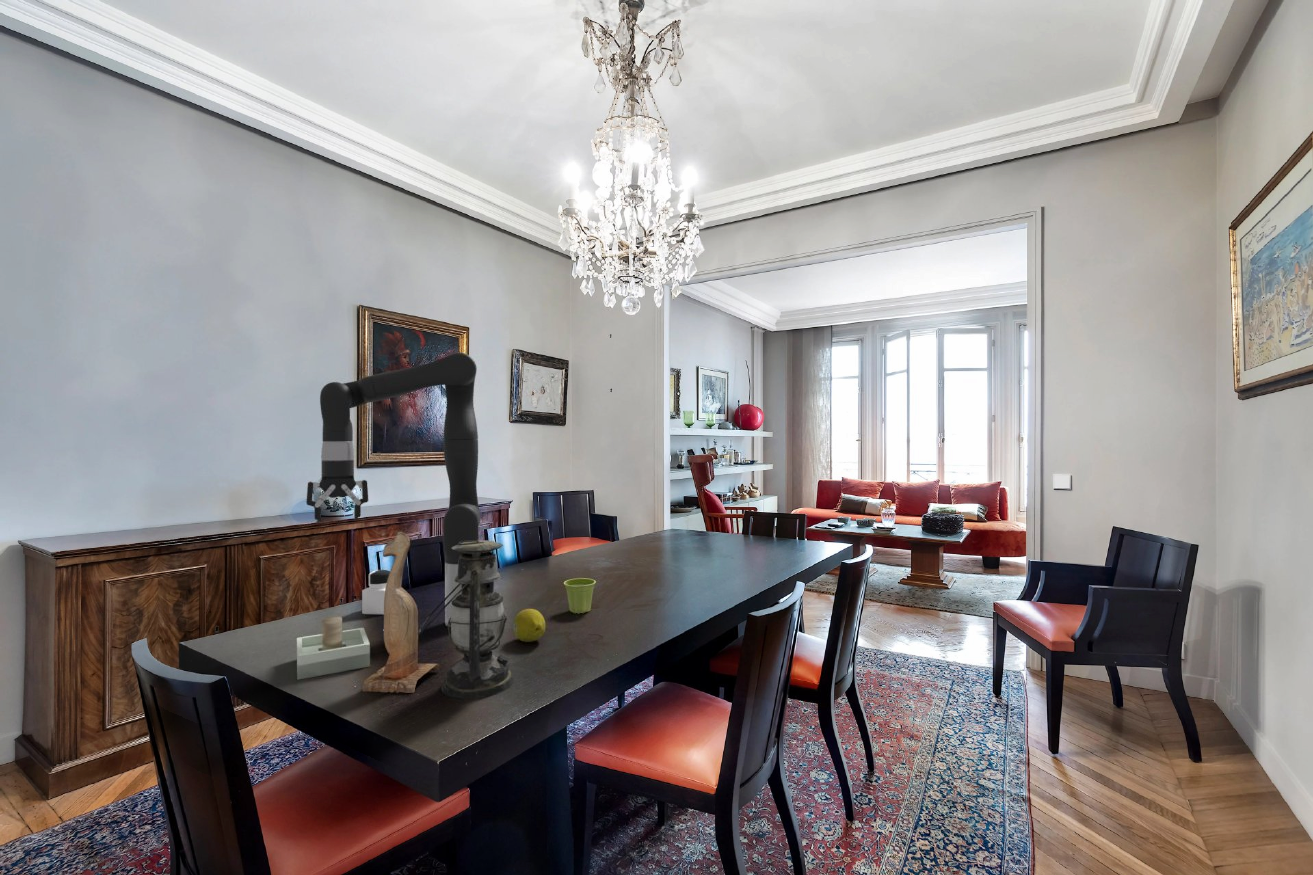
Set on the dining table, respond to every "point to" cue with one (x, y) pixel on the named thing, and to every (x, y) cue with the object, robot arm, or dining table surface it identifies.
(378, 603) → the medicine bottle
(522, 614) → the lemon
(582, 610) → the plant pot
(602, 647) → the dining table surface
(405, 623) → the bird sculpture
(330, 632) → the peg
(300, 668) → the socket box
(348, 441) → the robot arm
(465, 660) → the lantern
